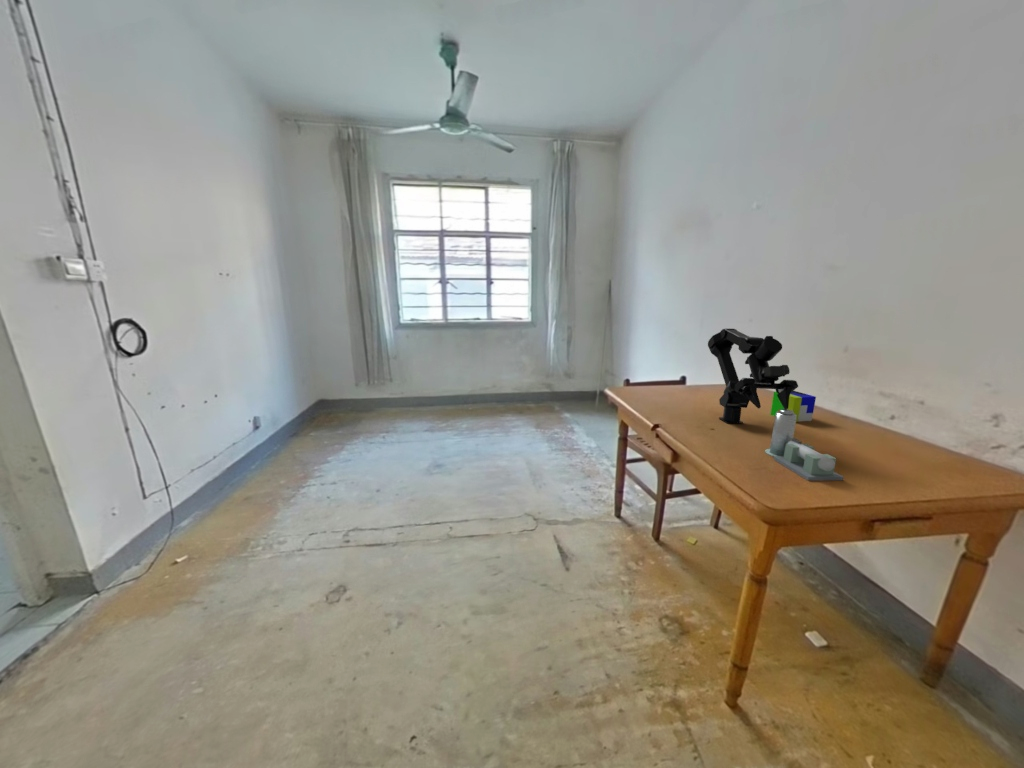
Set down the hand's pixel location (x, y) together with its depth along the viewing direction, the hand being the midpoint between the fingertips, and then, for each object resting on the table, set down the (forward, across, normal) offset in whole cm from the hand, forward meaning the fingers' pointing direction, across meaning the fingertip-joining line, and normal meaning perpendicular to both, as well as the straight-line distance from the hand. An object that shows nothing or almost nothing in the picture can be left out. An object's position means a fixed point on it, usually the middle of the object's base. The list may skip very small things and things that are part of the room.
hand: (773, 408), depth 135 cm
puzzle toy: (-12, +29, +30) cm, 44 cm away
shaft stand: (+23, 0, -6) cm, 23 cm away
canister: (+15, -1, +3) cm, 15 cm away
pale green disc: (+15, -1, +3) cm, 15 cm away
